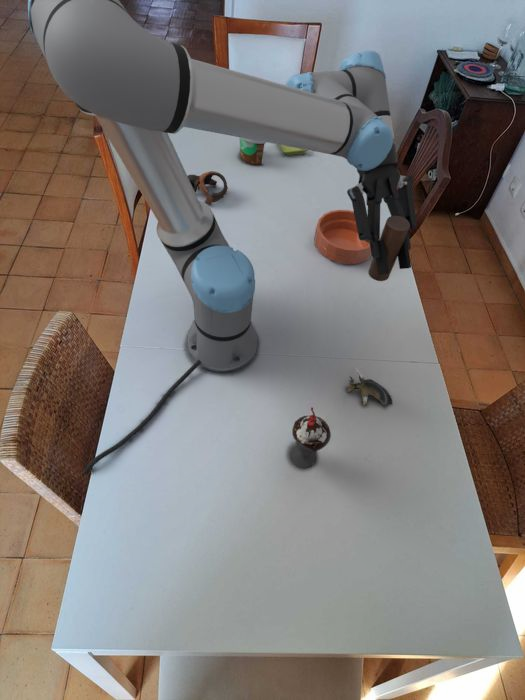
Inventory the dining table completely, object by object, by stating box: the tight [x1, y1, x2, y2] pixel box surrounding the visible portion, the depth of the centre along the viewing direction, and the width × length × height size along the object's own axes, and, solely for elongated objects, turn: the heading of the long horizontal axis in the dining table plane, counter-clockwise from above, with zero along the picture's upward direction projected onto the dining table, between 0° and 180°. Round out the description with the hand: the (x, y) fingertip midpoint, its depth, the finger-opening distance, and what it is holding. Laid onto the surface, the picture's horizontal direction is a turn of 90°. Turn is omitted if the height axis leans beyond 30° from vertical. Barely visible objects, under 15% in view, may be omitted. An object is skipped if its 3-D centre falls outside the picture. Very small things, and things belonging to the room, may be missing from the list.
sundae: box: [289, 406, 332, 469], centre depth 81 cm, size 7×7×15 cm
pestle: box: [367, 215, 410, 282], centre depth 90 cm, size 4×4×13 cm
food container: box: [239, 137, 267, 166], centre depth 141 cm, size 12×6×10 cm, turn 25°
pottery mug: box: [187, 170, 229, 206], centre depth 130 cm, size 12×10×8 cm
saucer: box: [278, 145, 309, 156], centre depth 150 cm, size 9×9×2 cm
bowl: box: [313, 209, 372, 265], centre depth 122 cm, size 16×16×6 cm
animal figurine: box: [347, 368, 393, 407], centre depth 93 cm, size 8×7×9 cm
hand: (394, 270), depth 89 cm, fingers closed on pestle, 4 cm apart
